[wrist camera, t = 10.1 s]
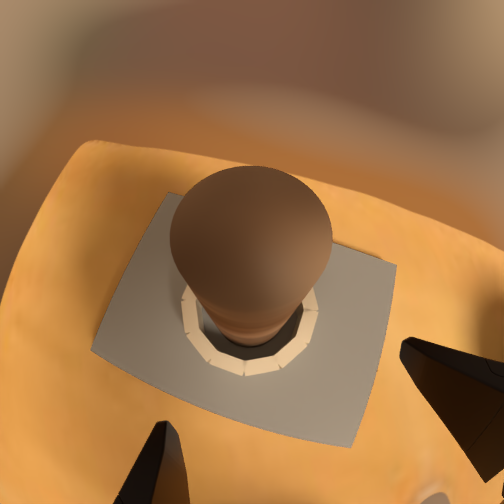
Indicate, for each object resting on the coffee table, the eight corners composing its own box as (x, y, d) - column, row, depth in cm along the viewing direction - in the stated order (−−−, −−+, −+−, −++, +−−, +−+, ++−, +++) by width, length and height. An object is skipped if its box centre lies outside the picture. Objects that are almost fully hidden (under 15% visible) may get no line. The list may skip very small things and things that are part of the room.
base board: (389, 271, 23) (410, 253, 20) (344, 443, 17) (363, 456, 13) (172, 200, 26) (162, 175, 22) (98, 352, 20) (73, 346, 16)
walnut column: (296, 316, 20) (362, 234, 8) (246, 361, 19) (243, 348, 7) (251, 270, 22) (256, 146, 10) (202, 311, 20) (141, 223, 8)
